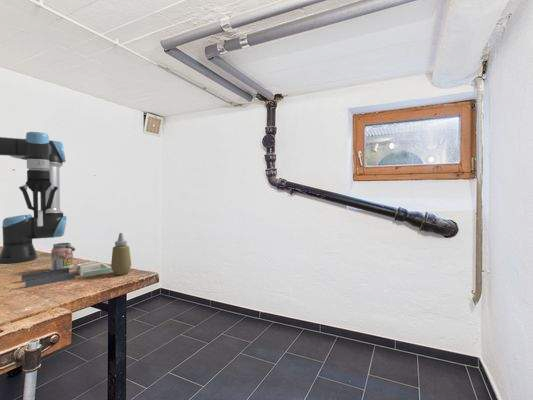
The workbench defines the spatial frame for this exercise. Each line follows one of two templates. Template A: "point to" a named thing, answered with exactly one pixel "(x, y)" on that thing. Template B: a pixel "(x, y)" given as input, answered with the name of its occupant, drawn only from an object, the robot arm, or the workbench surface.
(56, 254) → the beverage can
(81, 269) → the block
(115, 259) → the squeeze bottle
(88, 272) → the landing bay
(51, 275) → the chute
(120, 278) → the workbench surface
